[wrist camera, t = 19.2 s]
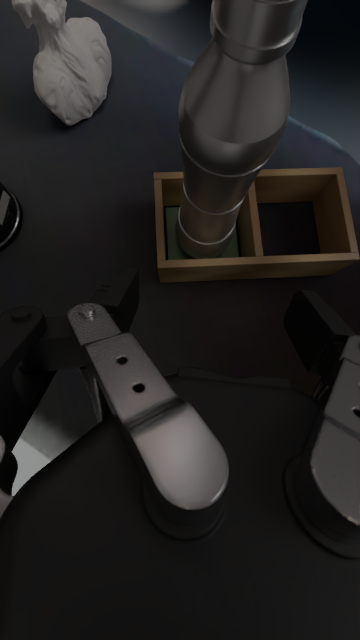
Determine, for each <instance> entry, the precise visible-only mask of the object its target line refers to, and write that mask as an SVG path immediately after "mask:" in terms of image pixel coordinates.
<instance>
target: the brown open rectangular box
mask: <svg viewBox="0 0 360 640" xmlns="http://www.w3.org/2000/svg"><path fill="white" fill-rule="evenodd" d="M182 194H183V172H159V173H154V196H155V219H156V242H157V266H158V273H159V279H160V283H166V282H188V281H211V280H233V279H255V278H277V277H299V276H322V275H332V274H333V273H335V272H337V271H339V270H341V269H343V268H345V267H347V266H348V265H350V264H352V263H354V262H356V261H358V260H360V258H359V253H358V247H357V242H356V237H355V232H354V226H353V221H352V216H351V211H350V206H349V201H348V195H347V190H346V185H345V180H344V175H343V170H342V168H305V169H269V170H261V171H260V172H259V174H258V175H257V177H256V178H255V180H254V181H253V183H252V185H251V187H250V188H249V190H248V192H247V194H246V196H245V198H244V200H243V202H242V204H241V206H240V209H239V212H238V215H237V223H238V233H239V242H240V252H241V257H239V254H238V244H237V235H236V225H235V230H234V234H233V238H232V240H231V242H230V244H229V245H228V246H227V247H226V248H225V250H224V251H223V252H222V253H221V254H219V255H218V256H216V257H214V258H211V259H196V258H193V257H191V256H189V255H188V254H187V253H185V252H184V251H183V249H182V248H181V247H180V245H179V242H178V239H177V236H176V232H175V223H176V218H177V214H178V211H179V208H180V207H175V208H166V223H167V242H168V260H166V253H165V233H164V212H163V206H181V200H182ZM282 202H312V204H313V210H314V216H315V222H316V228H317V234H318V240H319V246H320V252H321V254H308V255H284V256H263V250H262V241H261V233H260V225H259V217H258V209H257V203H282Z"/></svg>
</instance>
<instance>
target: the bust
mask: <svg viewBox="0 0 360 640" xmlns="http://www.w3.org/2000/svg"><path fill="white" fill-rule="evenodd" d="M12 5H13V8H14V10H15V11H16V12H17V13H19V15H20V17H21V18H22V20H23V22H24V24H25V26H26V28H27V29H29V28H30V26H31V25H32V24H34V25H35V27H36V30H37V33H38V36H39V42H40V45H39V53H38V54H37V55H36V57H35V59H34V64H33V80H34V89H35V92H36V94H37V96H38V98H39V99H40V100H41V102H42V103H43V104H44V105H45V106H47V107H48V108H49V109H50V110H51V111H52V112H53V113H54V114H55V115H56V116H57V117H58V118H59V119H60V120H61V121H62V122H63V123H64V124H65V125H67V126H72V125H74V124H76V123H78V122H79V121H80V120H83V119H87V118H90V117H91V116H92V114H93V113H94V112H95V111H96V110H97V109H98V108H99V106H100V105H101V104H102V102H103V100H105V98H106V95H107V86H108V83H109V80H110V78H111V74H112V67H111V54H110V50H109V49H108V47H107V43H106V38H105V36H104V34H103V33H102V32H101V28H100V26H99V25H98V23H97V22H95V21H94V20H92V19H91V18H89V17H83V18H70V19H68V21H67V23H65V12H66V7H67V3H66V0H12Z"/></svg>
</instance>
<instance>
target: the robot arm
mask: <svg viewBox="0 0 360 640" xmlns="http://www.w3.org/2000/svg"><path fill="white" fill-rule="evenodd" d="M22 218H23V215H22V208H21V205H20V203H19V201H18V200H17V198H16V197H15V196H14V195H13V194H12V193H11V191H9V190H8V189H7V188H6V187H5V186H3V185H2V184H1V183H0V251H1V250H2V249H4V248H5V247H7V246H8V245H9V244H10V243H11V242H12V241H13V240H14V239H15V237H16V236H17V234H18V232H19V230H20V228H21V225H22ZM138 304H139V270H137V269H129V268H123V269H122V270H121V272H120V273H119V275H118V276H117V277H116V276H111V277H109V278H107V279H106V280H104V281H103V283H102V284H101V286H100V287H99V288H98V289H97V291H96V292H95V293H94V295H93V296H92V297H91V299H90V300H89V302H88V303H83V304H79V305H76V306H74V307H72V308H71V309H70V310H69V311H68V313H67V316H60V317H46V318H45V317H44V313H43V311H42V310H41V309H40V308H38V307H34V306H22V307H17V308H13V309H10V310H8V311H6V312H4V313H3V314H2V315H0V640H360V335H355V334H354V333H353V331H352V330H351V329H350V328H349V327H348V326H347V325H346V323H345V322H344V321H342V319H341V318H340V317H339V316H338V314H337V313H336V312H335V311H334V310H333V309H332V308H331V307H329V306H328V305H326V304H325V303H324V302H323V301H322V299H321V298H320V297H319V296H318V295H317V294H316V292H313V291H305V290H297V291H296V292H295V294H294V296H293V298H292V301H291V303H290V305H289V307H288V310H287V312H286V314H285V317H284V327H285V329H286V331H287V333H288V335H289V337H290V339H291V341H292V343H293V345H294V347H295V349H296V351H297V353H298V355H299V357H300V359H301V361H302V363H303V365H304V367H305V369H306V371H307V373H308V374H312V375H321V379H320V380H319V382H318V383H317V385H316V387H315V390H314V392H313V394H312V396H311V397H310V396H309V395H307V394H305V393H303V392H301V391H298V390H296V389H293V388H292V386H291V384H290V381H289V379H285V378H277V377H269V376H253V377H242V378H232V377H229V376H226V375H223V374H220V373H217V372H213V371H210V370H207V369H201V368H193V367H185V366H178V372H177V374H173V375H168V376H164V377H163V376H162V374H161V373H160V372H159V370H158V369H157V368H156V366H155V365H154V364H153V362H152V361H151V359H150V358H149V357H148V355H147V354H146V353H145V351H144V350H143V349H142V347H141V346H140V344H139V343H138V342H137V340H136V339H135V338H134V336H133V335H132V334H131V333H130V332H129V329H130V326H131V324H132V321H133V319H134V316H135V314H136V311H137V308H138ZM77 367H78V368H79V371H80V373H81V375H82V378H83V380H84V383H85V385H86V388H87V390H88V393H89V395H90V397H91V400H92V403H93V406H94V409H95V413H96V416H97V419H98V422H99V423H98V424H97V425H96V426H95V427H93V428H92V429H91V430H90V431H88V432H87V433H86V434H85V435H83V436H82V437H81V438H80V439H78V440H77V441H76V442H75V443H73V444H72V445H71V446H70V447H68V448H67V449H66V450H65V451H63V452H62V453H61V454H60V455H58V456H57V457H56V458H55V459H53V460H52V461H51V462H50V463H48V464H47V465H46V466H45V467H43V468H42V469H41V470H40V471H38V472H37V473H36V474H35V475H34V476H32V477H31V478H30V479H29V480H28V481H27V482H26V483H25V484H24V485H23V486H22V487H21V489H20V490H19V491H18V492H17V493H16V495H15V496H12V486H13V482H14V479H15V477H16V474H17V469H18V464H17V460H16V458H15V456H14V455H13V453H12V452H11V451H12V450H13V448H14V446H15V445H16V443H17V441H18V439H19V437H20V436H21V434H22V432H23V430H24V429H25V427H26V425H27V423H28V421H29V420H30V418H31V416H32V414H33V413H34V411H35V409H36V407H37V406H38V404H39V402H40V400H41V398H42V397H43V395H44V393H45V391H46V390H47V388H48V386H49V384H50V382H51V381H52V379H53V377H54V375H55V374H56V372H57V370H62V369H69V368H77Z"/></svg>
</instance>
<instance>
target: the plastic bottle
mask: <svg viewBox="0 0 360 640" xmlns="http://www.w3.org/2000/svg"><path fill="white" fill-rule="evenodd" d="M307 1H308V0H213V2H212V7H211V16H210V30H211V34H212V37H213V38H212V39H211V41H210V42H209V43H208V45H207V46H206V47H205V49H204V50H203V51H202V53H201V54H200V56H199V57H198V59H197V60H196V62H195V64H194V65H193V67H192V69H191V70H190V72H189V74H188V76H187V78H186V80H185V83H184V87H183V90H182V94H181V97H180V101H179V106H178V120H179V134H180V144H181V153H182V161H183V194H182V200H181V206H180V208H179V211H178V214H177V218H176V223H175V232H176V236H177V239H178V242H179V245H180V247H181V248H182V249H183V251H184V252H185V253H187V254H188V255H189V256H191V257H193V258H196V259H211V258H214V257H216V256H218V255H219V254H221V253H222V252H223V251H224V250H225V248H226V247H227V246H228V245H229V244H230V242H231V240H232V238H233V234H234V230H235V225H236V219H237V215H238V212H239V209H240V206H241V204H242V202H243V200H244V198H245V196H246V194H247V192H248V190H249V188H250V187H251V185H252V183H253V181H254V180H255V178H256V177H257V175H258V174H259V172H260V171H261V169H262V168H263V166H264V165H265V164H266V162H267V161H268V159H269V157H270V156H271V155H272V153H273V152H274V150H275V148H276V147H277V145H278V143H279V141H280V140H281V138H282V136H283V134H284V131H285V128H286V123H287V118H288V113H289V107H290V90H289V76H288V69H287V63H286V57H285V54H286V53H287V52H288V51H290V49H291V48H292V46H293V45H294V42H295V40H296V37H297V35H298V32H299V29H300V26H301V23H302V14H303V12H304V9H305V6H306V4H307Z"/></svg>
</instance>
